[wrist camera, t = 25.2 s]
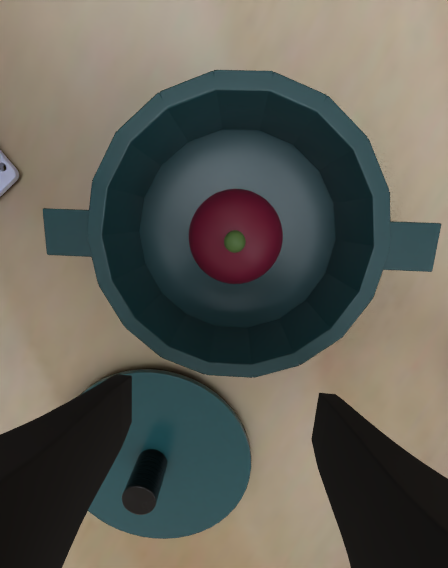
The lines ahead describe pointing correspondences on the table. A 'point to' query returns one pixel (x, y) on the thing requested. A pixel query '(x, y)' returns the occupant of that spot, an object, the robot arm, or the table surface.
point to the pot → (263, 181)
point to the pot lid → (174, 460)
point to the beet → (235, 236)
